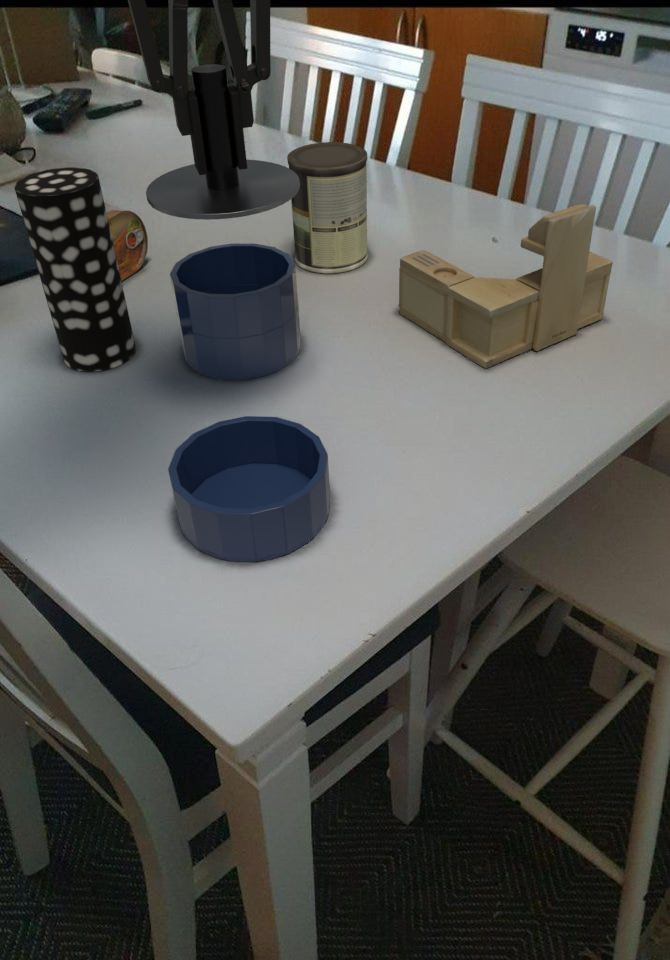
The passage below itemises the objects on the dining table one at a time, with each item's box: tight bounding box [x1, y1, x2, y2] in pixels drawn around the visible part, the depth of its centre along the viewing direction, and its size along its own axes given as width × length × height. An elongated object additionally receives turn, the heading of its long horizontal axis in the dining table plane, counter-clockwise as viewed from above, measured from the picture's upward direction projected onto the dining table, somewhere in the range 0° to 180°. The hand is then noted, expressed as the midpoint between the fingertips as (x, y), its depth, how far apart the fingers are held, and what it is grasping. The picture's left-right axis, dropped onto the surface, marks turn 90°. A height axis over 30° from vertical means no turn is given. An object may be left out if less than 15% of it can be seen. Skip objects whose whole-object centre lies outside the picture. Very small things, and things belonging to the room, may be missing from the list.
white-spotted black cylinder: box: [13, 166, 137, 373], centre depth 88 cm, size 8×8×20 cm
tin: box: [106, 209, 149, 283], centre depth 107 cm, size 15×3×8 cm, turn 153°
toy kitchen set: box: [398, 203, 614, 369], centre depth 93 cm, size 18×17×15 cm
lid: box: [145, 63, 300, 221], centre depth 73 cm, size 14×14×11 cm
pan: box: [167, 415, 331, 563], centre depth 71 cm, size 13×13×5 cm
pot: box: [169, 242, 302, 381], centre depth 91 cm, size 13×13×10 cm
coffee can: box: [286, 141, 369, 275], centre depth 108 cm, size 10×10×14 cm
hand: (220, 166), depth 75 cm, fingers closed on lid, 3 cm apart
